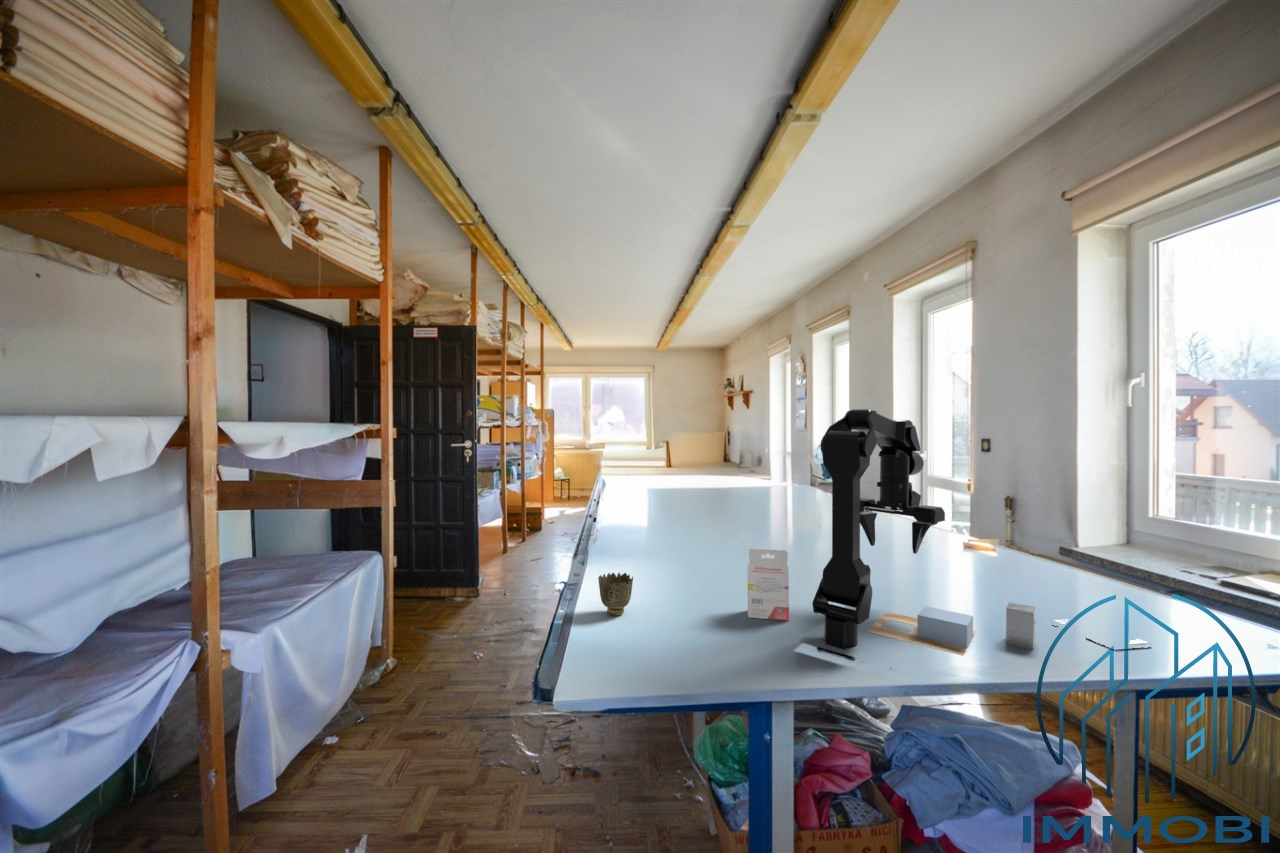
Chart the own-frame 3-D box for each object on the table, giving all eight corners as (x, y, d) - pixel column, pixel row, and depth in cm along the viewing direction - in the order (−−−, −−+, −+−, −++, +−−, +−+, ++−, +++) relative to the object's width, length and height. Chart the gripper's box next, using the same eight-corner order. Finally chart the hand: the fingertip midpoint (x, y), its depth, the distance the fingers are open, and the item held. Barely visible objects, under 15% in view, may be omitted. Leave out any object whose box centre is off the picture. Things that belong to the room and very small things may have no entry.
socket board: (962, 663, 91) (963, 655, 91) (866, 639, 101) (866, 631, 101) (976, 639, 102) (976, 631, 102) (887, 618, 112) (887, 611, 112)
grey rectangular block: (1033, 658, 94) (1033, 612, 94) (1005, 651, 96) (1006, 607, 96) (1035, 650, 97) (1035, 607, 97) (1008, 644, 99) (1008, 602, 99)
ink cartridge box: (788, 613, 115) (788, 545, 115) (789, 621, 110) (789, 550, 110) (747, 609, 117) (748, 543, 117) (747, 617, 112) (747, 548, 112)
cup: (637, 617, 112) (638, 579, 112) (604, 622, 109) (604, 583, 109) (625, 606, 119) (626, 570, 119) (594, 610, 116) (594, 573, 116)
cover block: (967, 648, 94) (967, 625, 94) (917, 636, 99) (917, 614, 99) (972, 637, 99) (973, 616, 99) (925, 626, 104) (925, 606, 104)
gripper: (955, 479, 113) (954, 552, 113) (870, 472, 128) (869, 537, 128) (934, 482, 106) (932, 560, 106) (846, 474, 121) (845, 543, 121)
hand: (893, 549), depth 115 cm, fingers open, 9 cm apart
